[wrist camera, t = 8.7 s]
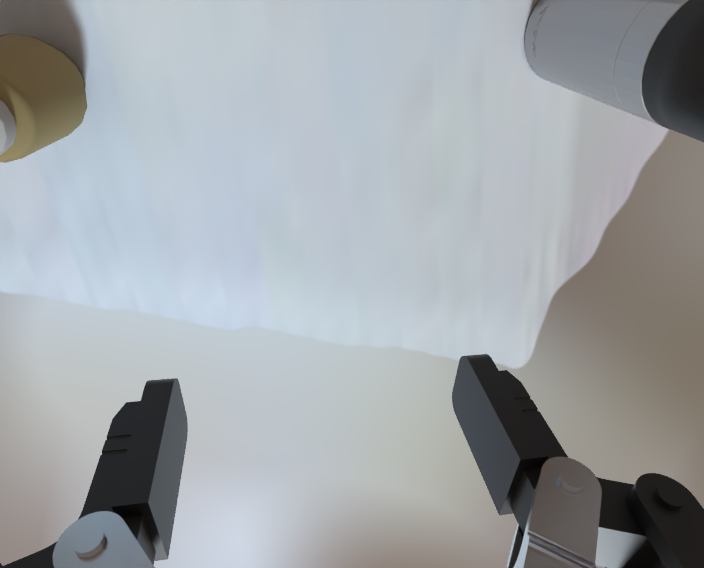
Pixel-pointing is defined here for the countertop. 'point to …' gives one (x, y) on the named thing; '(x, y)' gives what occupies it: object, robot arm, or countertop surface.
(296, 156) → the countertop surface
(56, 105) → the squeeze bottle
